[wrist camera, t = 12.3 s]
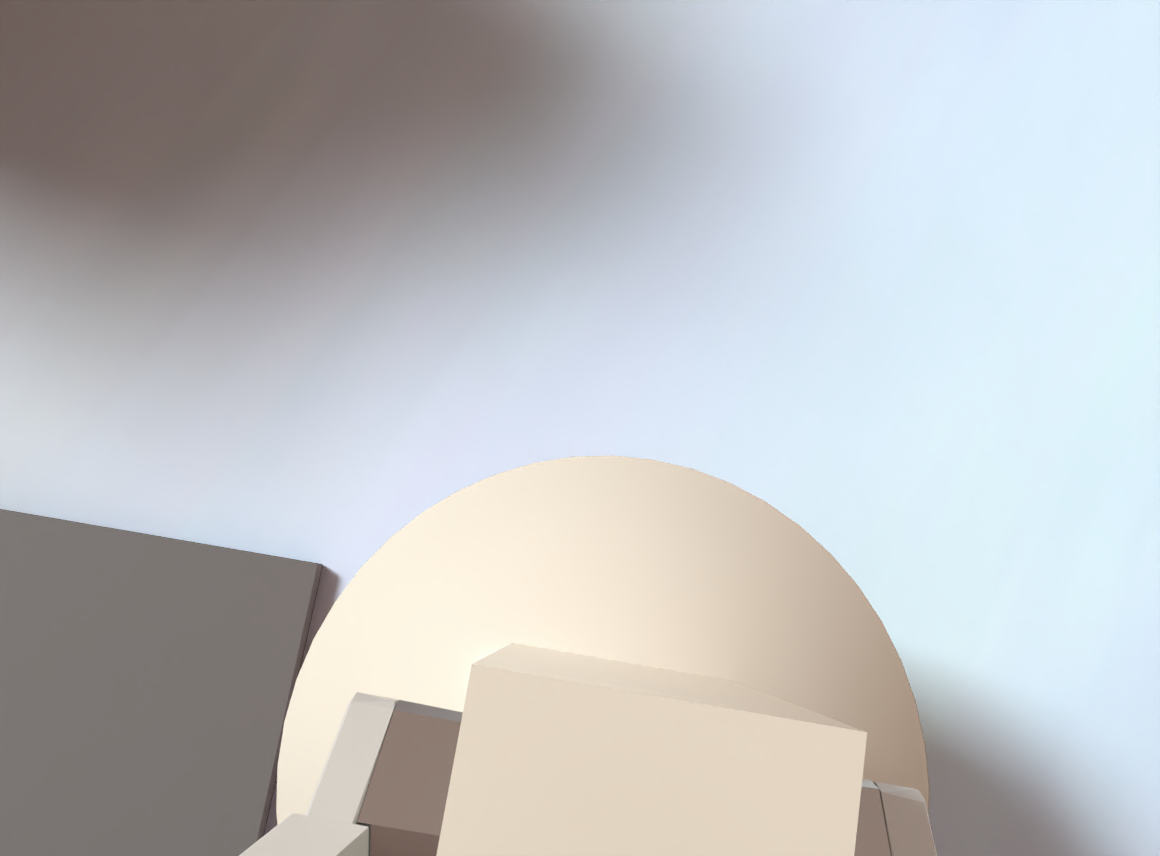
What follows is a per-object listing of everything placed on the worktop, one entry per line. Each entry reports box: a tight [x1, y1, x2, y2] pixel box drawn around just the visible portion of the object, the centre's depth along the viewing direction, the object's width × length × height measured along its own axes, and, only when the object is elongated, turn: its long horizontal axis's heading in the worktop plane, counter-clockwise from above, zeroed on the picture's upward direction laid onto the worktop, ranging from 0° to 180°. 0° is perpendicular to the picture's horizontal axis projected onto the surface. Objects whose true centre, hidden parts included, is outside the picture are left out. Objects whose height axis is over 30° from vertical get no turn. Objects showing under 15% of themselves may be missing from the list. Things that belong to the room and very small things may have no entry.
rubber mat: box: [0, 509, 323, 856], centre depth 22 cm, size 12×12×1 cm
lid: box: [276, 456, 929, 856], centre depth 12 cm, size 10×10×8 cm
